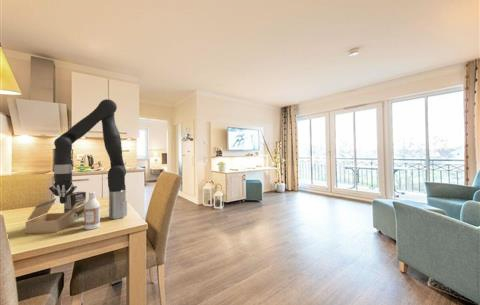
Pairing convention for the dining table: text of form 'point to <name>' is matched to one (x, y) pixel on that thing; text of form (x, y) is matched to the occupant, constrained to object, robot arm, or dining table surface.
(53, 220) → the carton
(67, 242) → the dining table surface
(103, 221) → the dining table surface
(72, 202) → the coffee box
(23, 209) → the dining table surface
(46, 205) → the flap
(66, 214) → the flap
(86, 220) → the bath foam
